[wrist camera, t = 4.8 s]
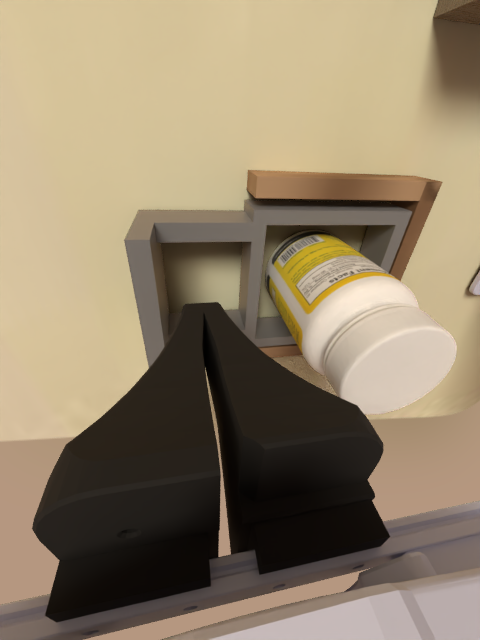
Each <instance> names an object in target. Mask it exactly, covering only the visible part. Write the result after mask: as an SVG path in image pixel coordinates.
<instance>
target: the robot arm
mask: <svg viewBox="0 0 480 640" xmlns="http://www.w3.org/2000/svg"><path fill="white" fill-rule="evenodd" d="M469 291H470V292H471V293H472V294H474V295H480V271H479V273H478V274H477V276H476V278H475V279H474V281H473V283H472V284H471V286H470V288H469ZM205 367H206V372H207V376H208V381H209V386H210V390H211V395H212V400H213V404H214V409H215V414H216V419H217V425H218V433H219V443H220V451H221V460H222V469H223V478H224V489H225V497H226V508H227V518H228V527H229V538H230V547H231V555H228V556H222V557H218V541H219V539H218V538H219V529H220V528H219V526H220V465H219V457H218V449H217V442H216V436H215V431H214V425H213V419H212V413H211V407H210V401H209V394H208V388H207V381H206V374H205ZM382 453H383V442H382V441H381V439H380V438H379V436H378V435H377V433H376V431H375V430H374V428H373V426H372V425H371V423H370V422H369V420H368V419H367V417H366V416H365V415H364V414H363V412H362V411H361V410H360V408H359V407H358V406H357V405H355V404H353V403H351V402H348V401H346V400H344V399H342V398H339V397H337V396H335V395H333V394H331V393H328V392H326V391H324V390H322V389H320V388H318V387H316V386H315V385H313V384H311V383H309V382H307V381H305V380H304V379H302V378H300V377H298V376H297V375H295V374H293V373H292V372H290V371H289V370H287V369H286V368H284V367H283V366H281V365H280V364H278V363H277V362H275V361H274V360H273V359H271V358H270V357H269V356H268V355H266V354H265V353H264V352H263V351H262V350H260V349H259V348H258V347H257V346H256V345H255V344H254V343H253V342H252V341H251V340H250V339H249V338H248V337H247V336H246V335H245V334H244V333H243V332H242V331H241V330H240V329H239V328H238V327H237V326H236V324H235V323H234V322H233V321H232V320H231V318H230V317H229V316H228V315H227V313H226V312H225V311H224V309H223V308H222V306H221V305H220V304H219V303H218V302H213V303H194V304H185V305H184V306H183V309H182V313H181V316H180V318H179V321H178V323H177V325H176V327H175V329H174V331H173V333H172V335H171V337H170V338H169V340H168V342H167V343H166V345H165V347H164V348H163V350H162V351H161V353H160V354H159V356H158V357H157V359H156V360H155V361H154V363H153V364H152V365H151V367H150V368H149V369H148V370H147V372H146V373H145V374H144V375H143V376H142V377H141V378H140V380H139V381H138V382H137V383H136V384H135V385H134V386H133V387H132V388H131V390H130V391H129V392H128V393H127V394H126V395H125V396H123V397H122V398H121V399H120V400H119V401H118V402H117V403H116V404H115V405H114V406H113V407H112V408H111V409H110V410H109V411H108V412H106V413H105V414H104V415H103V416H102V417H101V418H100V419H98V420H97V421H96V422H95V423H93V424H92V425H91V426H90V427H88V428H87V429H86V430H84V431H83V432H82V433H81V434H79V435H78V436H77V437H76V438H74V439H73V440H72V441H70V442H69V443H68V444H66V446H65V448H64V449H63V451H62V453H61V455H60V457H59V459H58V461H57V463H56V465H55V467H54V469H53V471H52V473H51V475H50V478H49V480H48V482H47V485H46V488H45V491H44V493H43V496H42V499H41V502H40V504H39V507H38V510H37V513H36V515H35V518H34V522H33V528H32V529H33V531H34V533H35V534H36V536H37V538H38V539H39V541H40V542H41V543H42V544H44V546H46V547H47V548H48V549H49V550H50V551H51V552H52V553H53V554H54V555H55V556H56V557H57V558H58V559H59V560H60V561H59V565H58V569H57V572H56V577H55V580H54V583H53V587H52V591H51V594H47V595H42V596H38V597H34V598H29V599H25V600H19V601H15V602H10V603H6V604H1V605H0V640H83V639H87V638H91V637H95V636H99V635H103V634H107V633H111V632H115V631H119V630H123V629H127V628H131V627H135V626H139V625H143V624H147V623H151V622H155V621H159V620H163V619H167V618H172V617H175V616H180V615H184V614H188V613H192V612H195V611H200V610H204V609H208V608H212V607H216V606H220V605H224V604H228V603H232V602H236V601H240V600H244V599H248V598H252V597H256V596H260V595H264V594H268V593H272V592H276V591H280V590H284V589H288V588H292V587H296V586H300V585H304V584H309V583H313V582H316V581H321V580H324V579H328V578H333V577H337V576H341V575H345V574H349V573H352V572H357V571H361V570H365V569H368V570H366V571H363V572H361V573H359V577H358V580H357V581H356V582H355V583H354V585H352V586H351V587H350V588H349V589H347V590H346V591H344V592H341V593H336V594H331V595H326V596H321V597H317V598H312V599H308V600H304V601H300V602H295V603H291V604H286V605H282V606H279V607H274V608H270V609H267V610H263V611H259V612H255V613H251V614H248V615H244V616H240V617H236V618H233V619H229V620H225V621H222V622H218V623H215V624H212V625H208V626H204V627H201V628H198V629H194V630H191V631H188V632H185V633H181V634H178V635H175V636H171V637H168V638H165V639H162V640H480V501H476V502H472V503H467V504H462V505H458V506H453V507H448V508H444V509H439V510H434V511H430V512H426V513H421V514H416V515H412V516H407V517H403V518H398V519H393V520H388V521H384V522H383V521H382V519H381V517H380V516H379V514H378V512H377V510H376V508H375V506H374V504H373V502H372V500H373V499H374V498H375V494H374V491H373V489H372V488H371V486H370V485H369V482H368V480H367V479H368V478H369V476H370V475H371V473H372V472H373V470H374V469H375V467H376V465H377V464H378V462H379V460H380V458H381V456H382ZM369 568H371V569H369Z"/></svg>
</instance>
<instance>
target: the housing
mask: <svg viewBox="0 0 480 640" xmlns="http://www.w3.org/2000/svg"><path fill="white" fill-rule="evenodd" d="M441 184H442V182H440V181H436V180H431V179H426V178H422V177H417V176H401V175H372V174H343V173H314V172H285V171H256V170H248V181H247V190H248V191H249V192H250V193H251V194H252V195H253V196H254V197H255V198H276V199H337V200H392V202H391V204H393V205H396V206H399V207H402V208H404V209H407V210H410V211H412V214H411V217H410V219H409V222H408V224H407V227H406V230H405V232H404V235H403V237H402V240H401V242H400V245H399V247H398V250H397V253H396V255H395V258H394V260H393V263H392V265H391V268H390V270H389V274H391V275H392V276H394V277H395V278H397V279H398V280H399V281H401V278H402V276H403V273H404V271H405V269H406V266H407V264H408V262H409V259H410V257H411V255H412V252H413V250H414V248H415V245H416V243H417V241H418V238H419V236H420V234H421V231H422V229H423V227H424V224H425V222H426V219H427V217H428V215H429V212H430V210H431V208H432V205H433V203H434V201H435V198H436V196H437V194H438V191H439V189H440V187H441ZM258 348H259V349H260V350H262V351H263V352H264V353H265V354H266V355H268V356H269V357H270V358H272V357H283V356H295V355H302V353H301V351H300V349H299V347H298V345H297V344H289V345H277V346H264V347H258Z"/></svg>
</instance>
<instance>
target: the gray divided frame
mask: <svg viewBox="0 0 480 640" xmlns="http://www.w3.org/2000/svg"><path fill="white" fill-rule="evenodd" d="M411 214H412V211H410V210H407V209H404V208H402V207H399V206H396V205H393V204H391V203H388V202H371V201H307V200H245V204H244V211H214V210H138V212H137V215H136V217H135V219H134V221H133V223H132V225H131V227H130V229H129V231H128V233H127V235H126V237H125V240H124V241H125V246H126V251H127V257H128V262H129V267H130V272H131V277H132V282H133V288H134V293H135V298H136V303H137V308H138V313H139V319H140V324H141V329H142V334H143V339H144V344H145V350H146V355H147V360H148V365H149V368H150V367H151V365H152V364H153V363H154V361H155V360H156V359H157V357H158V356H159V354H160V353H161V351H162V350H163V348H164V347H165V345H166V343H167V342H168V340H169V338H170V337H171V335H172V333H173V331H174V329H175V327H176V325H177V323H178V321H179V318H180V316H181V313H169V306H168V298H167V289H166V280H165V272H164V263H163V255H162V246H161V243H166V242H242V257H241V275H240V293H239V310H224V311H225V312H226V313H227V315H228V316H229V317H230V318H231V320H232V321H233V322H234V323H235V324H236V326H237V327H238V328H239V329H240V330H241V331H242V332H243V333H244V334H245V335H246V336H247V337H248V338H249V339H250V340H251V341H252V342H253V343H254V344H255V345H256V346H257V347H264V346H277V345H289V344H297V343H296V342H295V340H294V338H293V336H292V334H291V333H290V331H289V329H288V327H287V325H286V323H285V322H284V320H283V318H282V317H265V318H257V314H258V304H259V295H260V285H261V275H262V266H263V256H264V246H265V237H266V227H267V225H368V227H367V231H366V234H365V237H364V240H363V243H362V247H361V250H360V254H362V255H363V256H365V257H366V258H368V259H369V260H370V261H372V262H373V263H375V264H376V265H378V266H379V267H380V268H382V269H383V270H385V271H386V272H388V273H389V270H390V268H391V265H392V263H393V260H394V258H395V255H396V253H397V250H398V247H399V245H400V242H401V240H402V237H403V235H404V232H405V230H406V227H407V224H408V222H409V219H410V217H411Z"/></svg>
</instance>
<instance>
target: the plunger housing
mask: <svg viewBox="0 0 480 640" xmlns="http://www.w3.org/2000/svg"><path fill="white" fill-rule="evenodd" d="M434 18H439V19H446V20H452V21H459V22H466V23H472V24H479V25H480V0H439V2H438V5H437V8H436V11H435V14H434Z"/></svg>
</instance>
